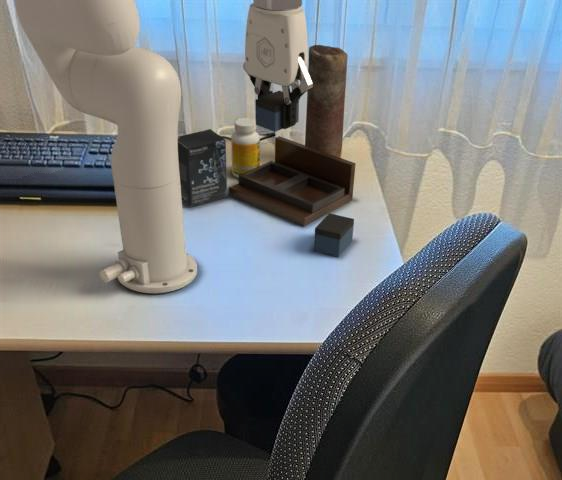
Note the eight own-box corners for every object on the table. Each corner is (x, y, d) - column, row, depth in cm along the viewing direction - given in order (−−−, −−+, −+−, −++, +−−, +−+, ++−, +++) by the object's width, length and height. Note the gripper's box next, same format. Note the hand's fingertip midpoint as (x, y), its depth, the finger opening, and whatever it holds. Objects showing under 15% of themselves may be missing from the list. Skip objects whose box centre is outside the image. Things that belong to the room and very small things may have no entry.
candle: (307, 152, 153) (312, 40, 139) (343, 155, 152) (352, 43, 138) (301, 167, 148) (305, 53, 133) (338, 170, 147) (346, 56, 133)
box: (190, 208, 135) (186, 147, 127) (175, 196, 138) (170, 136, 130) (228, 198, 138) (226, 138, 130) (213, 186, 141) (210, 127, 133)
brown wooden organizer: (304, 226, 131) (305, 188, 126) (228, 195, 139) (227, 158, 134) (352, 200, 138) (355, 163, 133) (278, 172, 146) (279, 135, 141)
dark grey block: (275, 132, 126) (275, 106, 123) (255, 124, 128) (255, 99, 125) (298, 122, 129) (299, 96, 126) (279, 115, 131) (279, 90, 128)
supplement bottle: (230, 169, 147) (228, 117, 140) (256, 167, 148) (256, 115, 141) (234, 180, 143) (233, 128, 136) (262, 178, 144) (262, 126, 137)
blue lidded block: (338, 257, 124) (340, 234, 121) (313, 250, 125) (314, 227, 122) (352, 241, 127) (354, 218, 125) (327, 235, 129) (329, 212, 126)
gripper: (221, -9, 117) (225, 115, 130) (304, 13, 109) (300, 142, 122) (254, -18, 120) (255, 104, 134) (336, 2, 113) (329, 129, 126)
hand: (276, 121), depth 128 cm, fingers closed on dark grey block, 4 cm apart
